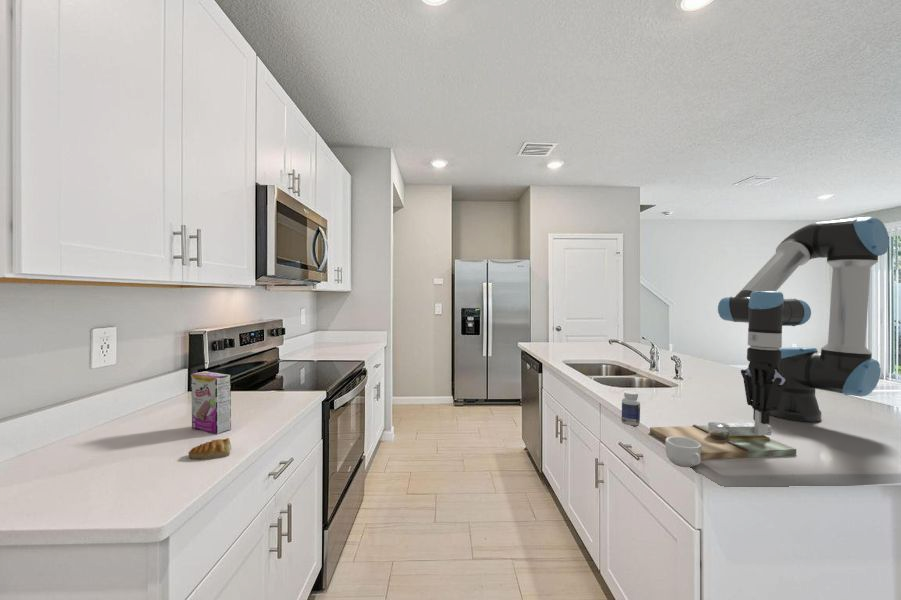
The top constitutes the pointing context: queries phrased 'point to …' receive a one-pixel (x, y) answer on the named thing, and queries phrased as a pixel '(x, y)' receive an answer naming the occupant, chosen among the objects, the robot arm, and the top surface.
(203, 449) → the pastry
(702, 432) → the door board
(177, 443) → the top surface
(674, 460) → the teacup
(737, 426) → the latch arm
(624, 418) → the pill bottle
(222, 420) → the candy bar box
